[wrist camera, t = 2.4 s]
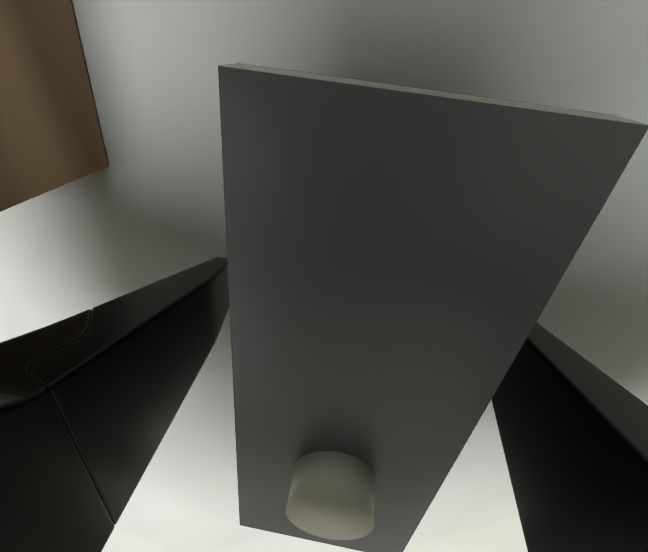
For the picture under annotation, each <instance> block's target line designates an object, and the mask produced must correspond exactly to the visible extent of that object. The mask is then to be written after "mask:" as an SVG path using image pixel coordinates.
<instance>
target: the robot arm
mask: <svg viewBox="0 0 648 552" xmlns="http://www.w3.org/2000/svg"><path fill="white" fill-rule="evenodd" d="M229 306H230V305H229V284H228V262H227V258H222V257H216V258H214V259H211V260H209V261H206V262H204V263H202V264H199V265H197V266H194V267H192V268H189V269H187V270H184V271H182V272H180V273H177V274H175V275H172V276H170V277H167V278H165V279H162V280H160V281H158V282H155V283H153V284H150V285H148V286H145V287H143V288H140V289H138V290H136V291H133V292H131V293H128V294H126V295H123V296H121V297H118V298H116V299H114V300H111V301H109V302H106V303H104V304H101V305H99V306H96V307H94V308H93V309H92V310H90V309H89V310H86V311H84V312H82V313H79V314H77V315H74V316H72V317H69V318H67V319H64V320H62V321H59V322H57V323H54V324H51V325H49V326H46V327H43V328H41V329H38V330H35V331H32V332H29V333H27V334H24V335H21V336H18V337H15V338H12V339H10V340H7V341H4V342H1V343H0V552H101V551H102V549H103V547H104V546H105V544H106V542H107V540H108V538H109V536H110V535H111V533H112V531H113V529H114V524H116V523H117V521H118V519H119V518H120V516H121V514H122V512H123V510H124V508H125V507H126V505H127V503H128V501H129V499H130V497H131V496H132V494H133V492H134V490H135V488H136V486H137V485H138V483H139V481H140V479H141V477H142V475H143V474H144V472H145V470H146V468H147V466H148V464H149V463H150V461H151V459H152V457H153V455H154V453H155V452H156V450H157V448H158V446H159V444H160V442H161V441H162V439H163V437H164V435H165V433H166V431H167V430H168V428H169V426H170V424H171V422H172V420H173V419H174V417H175V415H176V413H177V411H178V409H179V408H180V406H181V404H182V402H183V400H184V398H185V397H186V395H187V393H188V391H189V389H190V387H191V386H192V384H193V382H194V380H195V378H196V376H197V375H198V373H199V371H200V369H201V367H202V365H203V364H204V362H205V360H206V358H207V356H208V354H209V353H210V351H211V349H212V347H213V345H214V343H215V341H216V338H217V336H218V334H219V331H220V329H221V326H222V324H223V321H224V318H225V316H226V313H227V311H228V308H229ZM492 403H493V408H494V412H495V416H496V420H497V424H498V428H499V433H500V437H501V441H502V445H503V449H504V454H505V458H506V462H507V466H508V470H509V474H510V479H511V483H512V487H513V491H514V495H515V500H516V504H517V508H518V512H519V516H520V520H521V525H522V529H523V533H524V537H525V541H526V545H527V550H528V552H648V405H646V404H645V403H644V402H642V401H641V400H640V399H638V398H637V397H636V396H634V395H633V394H632V393H630V392H629V391H628V390H626V389H625V388H624V387H622V386H621V385H619V384H618V383H617V382H615V381H614V380H613V379H611V378H610V377H609V376H607V375H606V374H605V373H603V372H602V371H601V370H599V369H598V368H597V367H595V366H594V365H593V364H591V363H590V362H589V361H587V360H586V359H585V358H583V357H582V356H581V355H579V354H578V353H577V352H575V351H574V350H573V349H571V348H570V347H569V346H567V345H566V344H565V343H563V342H562V341H561V340H559V339H558V338H557V337H555V336H554V335H553V334H551V333H550V332H549V331H547V330H546V329H545V328H543V327H542V326H541V325H539V324H538V323H537V322H536V323H535V324H534V326H533V328H532V330H531V331H530V333H529V335H528V337H527V338H526V340H525V342H524V343H523V345H522V347H521V349H520V350H519V352H518V354H517V355H516V357H515V359H514V361H513V362H512V364H511V366H510V368H509V369H508V371H507V373H506V374H505V376H504V378H503V380H502V381H501V383H500V385H499V387H498V388H497V390H496V392H495V393H494V395H493V397H492Z"/></svg>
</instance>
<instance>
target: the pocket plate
mask: <svg viewBox="0 0 648 552" xmlns="http://www.w3.org/2000/svg"><path fill="white" fill-rule="evenodd" d="M106 166H108V163H107V158H106V154H105V149H104V145H103V141H102V136H101V132H100V127H99V123H98V118H97V114H96V110H95V105H94V101H93V96H92V92H91V87H90V83H89V79H88V74H87V70H86V65H85V61H84V56H83V52H82V48H81V43H80V39H79V34H78V30H77V25H76V21H75V17H74V12H73V8H72V3H71V0H0V212H1V211H3V210H5V209H8V208H10V207H12V206H15V205H17V204H19V203H22V202H24V201H26V200H29V199H31V198H33V197H36V196H38V195H41V194H43V193H45V192H48V191H50V190H52V189H55V188H57V187H59V186H62V185H64V184H66V183H69V182H71V181H74V180H76V179H78V178H81V177H83V176H85V175H88V174H90V173H92V172H95V171H97V170H99V169H102V168H104V167H106Z"/></svg>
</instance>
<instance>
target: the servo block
mask: <svg viewBox="0 0 648 552" xmlns="http://www.w3.org/2000/svg"><path fill="white" fill-rule="evenodd" d="M218 73H219V94H220V115H221V136H222V157H223V178H224V199H225V220H226V241H227V262H228V284H229V305H230V326H231V347H232V368H233V389H234V410H235V431H236V452H237V473H238V494H239V516H240V525H242V526H247V527H252V528H256V529H261V530H266V531H270V532H275V533H280V534H284V535H289V536H294V537H298V538H303V539H308V540H312V541H317V542H322V543H326V544H331V545H336V546H340V547H345V548H350V549H354V550H359V551H364V552H403V550H404V549H405V547H406V545H407V544H408V542H409V540H410V538H411V537H412V535H413V533H414V532H415V530H416V528H417V526H418V525H419V523H420V521H421V519H422V518H423V516H424V514H425V513H426V511H427V509H428V507H429V506H430V504H431V502H432V500H433V499H434V497H435V495H436V494H437V492H438V490H439V488H440V487H441V485H442V483H443V481H444V480H445V478H446V476H447V475H448V473H449V471H450V469H451V468H452V466H453V464H454V462H455V461H456V459H457V457H458V456H459V454H460V452H461V450H462V449H463V447H464V445H465V444H466V442H467V440H468V438H469V437H470V435H471V433H472V431H473V430H474V428H475V426H476V425H477V423H478V421H479V419H480V418H481V416H482V414H483V412H484V411H485V409H486V407H487V406H488V404H489V402H490V400H491V399H492V397H493V395H494V393H495V392H496V390H497V388H498V387H499V385H500V383H501V381H502V380H503V378H504V376H505V374H506V373H507V371H508V369H509V368H510V366H511V364H512V362H513V361H514V359H515V357H516V355H517V354H518V352H519V350H520V349H521V347H522V345H523V343H524V342H525V340H526V338H527V337H528V335H529V333H530V331H531V330H532V328H533V326H534V324H535V323H536V321H537V319H538V318H539V316H540V314H541V312H542V311H543V309H544V307H545V305H546V304H547V302H548V300H549V299H550V297H551V295H552V293H553V292H554V290H555V288H556V286H557V285H558V283H559V281H560V280H561V278H562V276H563V274H564V273H565V271H566V269H567V267H568V266H569V264H570V262H571V261H572V259H573V257H574V255H575V254H576V252H577V250H578V248H579V247H580V245H581V243H582V242H583V240H584V238H585V236H586V235H587V233H588V231H589V230H590V228H591V226H592V224H593V223H594V221H595V219H596V217H597V216H598V214H599V212H600V211H601V209H602V207H603V205H604V204H605V202H606V200H607V198H608V197H609V195H610V193H611V192H612V190H613V188H614V186H615V185H616V183H617V181H618V179H619V178H620V176H621V174H622V173H623V171H624V169H625V167H626V166H627V164H628V162H629V160H630V159H631V157H632V155H633V154H634V152H635V150H636V148H637V147H638V145H639V143H640V141H641V140H642V138H643V136H644V135H645V133H646V131H647V129H648V125H646V124H642V123H639V122H636V121H632V120H629V119H625V118H622V117H619V116H615V115H610V114H602V113H595V112H588V111H581V110H573V109H566V108H559V107H552V106H544V105H537V104H530V103H523V102H515V101H508V100H501V99H494V98H486V97H479V96H472V95H465V94H458V93H450V92H443V91H436V90H429V89H421V88H414V87H407V86H400V85H392V84H385V83H378V82H371V81H363V80H356V79H349V78H342V77H334V76H327V75H320V74H313V73H305V72H298V71H291V70H284V69H276V68H269V67H262V66H255V65H247V64H240V63H238V64H229V65H220V66H218Z"/></svg>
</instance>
